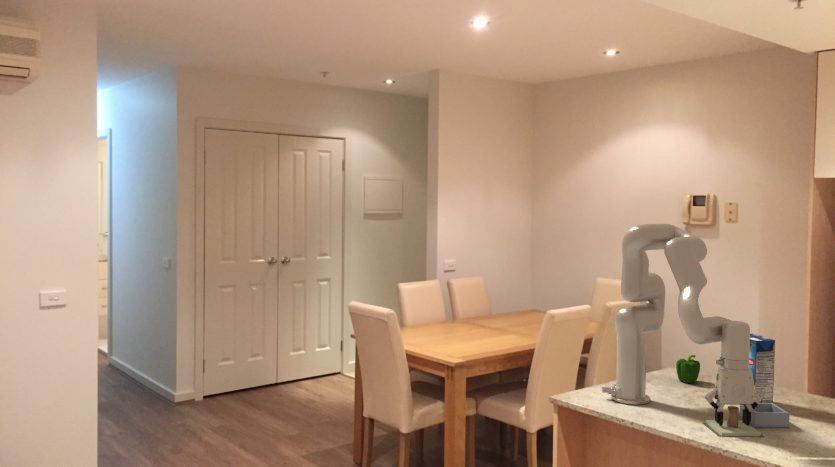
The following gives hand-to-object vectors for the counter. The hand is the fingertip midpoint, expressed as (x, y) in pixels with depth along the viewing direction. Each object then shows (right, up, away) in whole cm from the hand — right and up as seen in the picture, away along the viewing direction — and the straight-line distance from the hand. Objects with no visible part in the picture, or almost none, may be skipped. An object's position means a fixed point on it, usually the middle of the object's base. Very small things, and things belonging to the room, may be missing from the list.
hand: (732, 423), depth 204 cm
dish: (+13, -2, +7) cm, 15 cm away
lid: (0, -2, 0) cm, 2 cm away
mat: (0, -2, 0) cm, 2 cm away
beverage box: (+20, -1, +29) cm, 35 cm away
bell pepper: (+8, +1, +54) cm, 55 cm away
